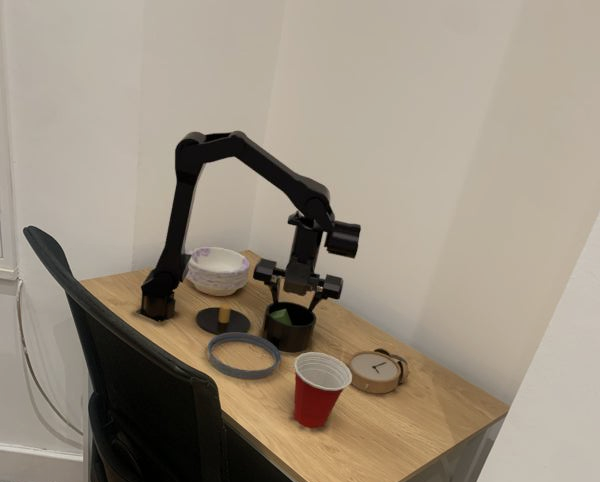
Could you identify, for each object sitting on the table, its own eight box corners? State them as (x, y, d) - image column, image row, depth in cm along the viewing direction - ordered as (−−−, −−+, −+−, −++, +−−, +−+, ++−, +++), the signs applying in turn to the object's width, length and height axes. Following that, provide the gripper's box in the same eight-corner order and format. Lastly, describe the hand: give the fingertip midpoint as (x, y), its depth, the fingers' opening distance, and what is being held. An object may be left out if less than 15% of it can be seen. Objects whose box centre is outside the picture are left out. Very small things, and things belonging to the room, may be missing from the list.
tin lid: (184, 324, 142) (186, 305, 139) (214, 305, 151) (216, 288, 149) (232, 345, 138) (235, 326, 136) (259, 324, 148) (262, 306, 145)
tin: (251, 341, 141) (256, 313, 137) (275, 323, 150) (280, 296, 146) (296, 360, 138) (303, 332, 134) (317, 341, 147) (324, 314, 143)
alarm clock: (336, 359, 136) (387, 336, 144) (334, 377, 139) (384, 353, 147) (372, 388, 130) (424, 362, 137) (369, 406, 133) (419, 380, 140)
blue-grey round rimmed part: (192, 362, 130) (193, 351, 129) (230, 334, 142) (232, 324, 140) (256, 391, 126) (258, 380, 125) (290, 360, 138) (292, 350, 137)
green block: (276, 341, 142) (268, 319, 140) (279, 333, 145) (270, 312, 143) (291, 337, 141) (283, 315, 139) (294, 330, 144) (286, 308, 142)
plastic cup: (313, 447, 115) (328, 393, 109) (270, 416, 120) (281, 362, 114) (349, 425, 123) (365, 373, 116) (307, 396, 128) (319, 345, 121)
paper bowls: (193, 268, 165) (196, 240, 161) (250, 283, 165) (255, 254, 161) (175, 293, 152) (178, 262, 148) (237, 308, 152) (242, 278, 148)
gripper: (253, 250, 125) (241, 320, 134) (347, 273, 125) (329, 341, 134) (264, 231, 134) (252, 297, 143) (350, 252, 134) (333, 317, 143)
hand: (291, 313), depth 140 cm, fingers open, 7 cm apart
